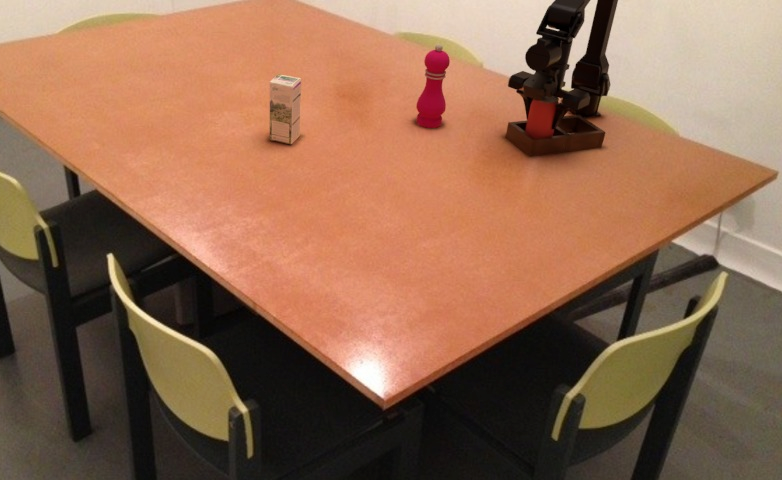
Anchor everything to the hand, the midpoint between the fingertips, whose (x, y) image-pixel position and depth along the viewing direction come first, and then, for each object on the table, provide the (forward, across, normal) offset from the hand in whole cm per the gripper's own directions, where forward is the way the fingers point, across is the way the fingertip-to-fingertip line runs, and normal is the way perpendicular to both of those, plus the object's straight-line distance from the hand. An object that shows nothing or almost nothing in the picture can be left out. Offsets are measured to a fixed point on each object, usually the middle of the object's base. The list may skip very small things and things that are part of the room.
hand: (540, 124), depth 184 cm
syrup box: (+5, -41, -45) cm, 61 cm away
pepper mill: (+5, -25, -11) cm, 28 cm away
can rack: (+5, +2, +4) cm, 7 cm away
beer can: (+5, 0, 0) cm, 5 cm away
